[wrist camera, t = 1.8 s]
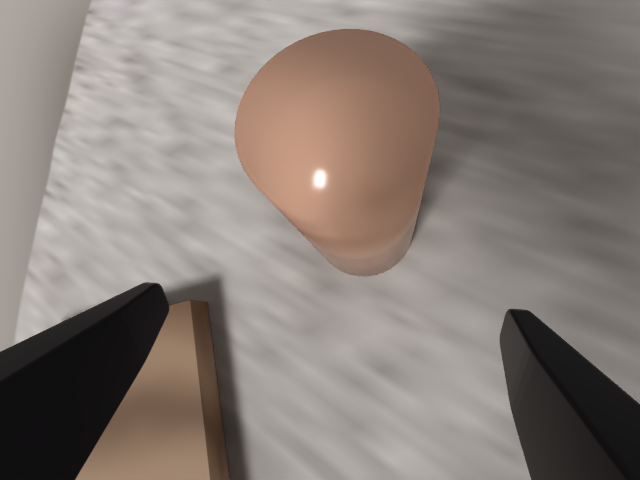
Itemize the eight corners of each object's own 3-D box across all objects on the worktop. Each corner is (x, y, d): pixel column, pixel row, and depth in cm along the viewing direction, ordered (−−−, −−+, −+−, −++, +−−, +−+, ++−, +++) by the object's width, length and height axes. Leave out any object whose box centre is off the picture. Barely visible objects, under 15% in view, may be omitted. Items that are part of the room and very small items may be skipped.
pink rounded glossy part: (425, 261, 20) (472, 176, 9) (328, 287, 21) (251, 239, 9) (397, 172, 22) (403, 2, 10) (307, 198, 22) (221, 68, 11)
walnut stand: (234, 516, 19) (216, 538, 17) (49, 547, 20) (14, 571, 18) (207, 302, 22) (189, 299, 20) (50, 343, 24) (21, 344, 22)
